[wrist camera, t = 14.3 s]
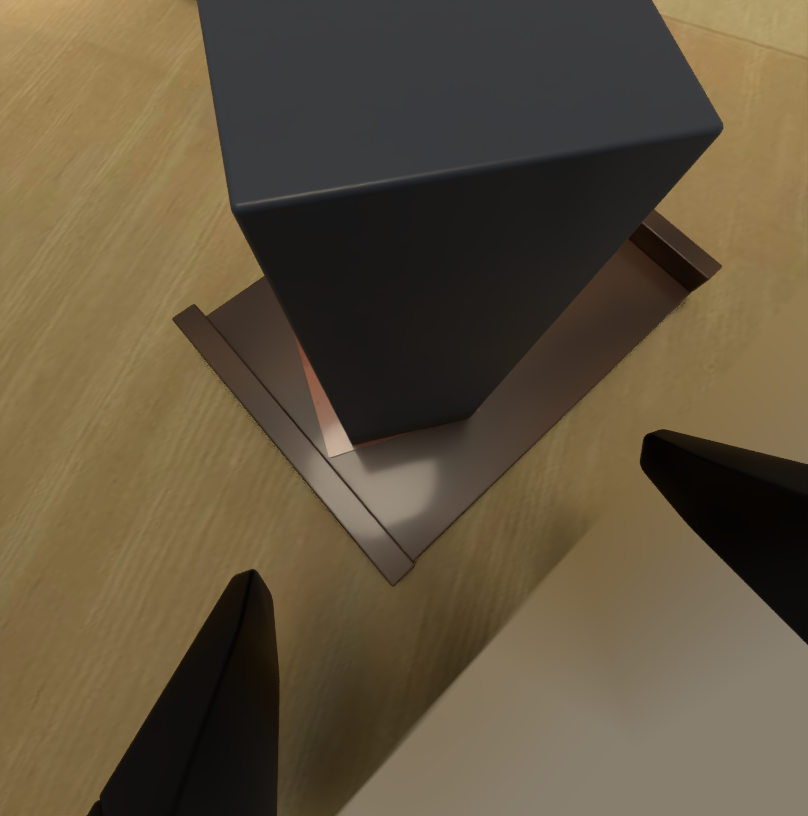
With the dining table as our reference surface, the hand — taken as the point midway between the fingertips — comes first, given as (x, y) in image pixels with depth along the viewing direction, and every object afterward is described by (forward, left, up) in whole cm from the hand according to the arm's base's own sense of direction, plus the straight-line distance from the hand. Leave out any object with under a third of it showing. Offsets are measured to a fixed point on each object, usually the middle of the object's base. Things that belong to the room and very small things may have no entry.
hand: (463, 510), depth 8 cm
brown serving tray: (+6, -8, -10) cm, 14 cm away
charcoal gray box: (+7, -4, -9) cm, 12 cm away
